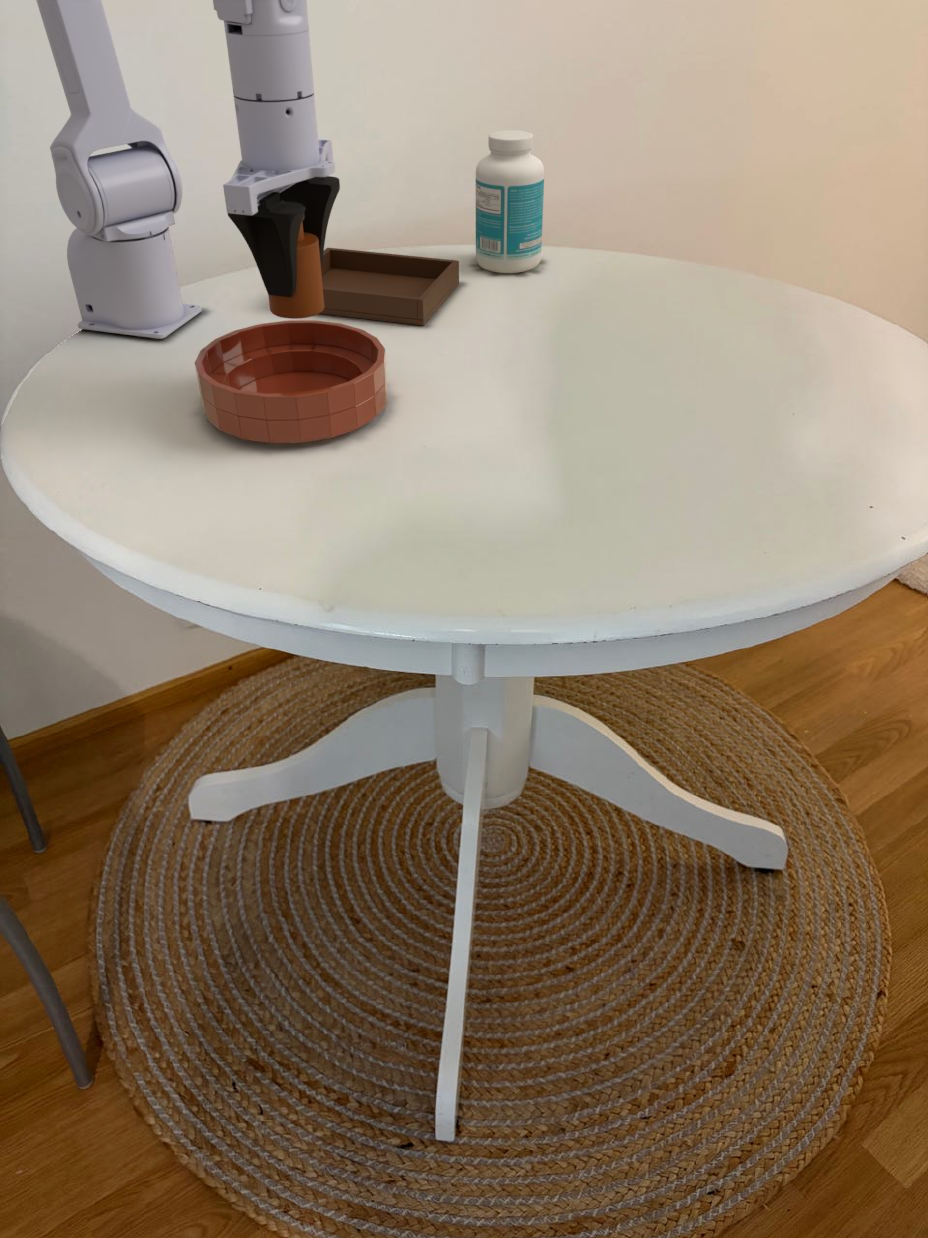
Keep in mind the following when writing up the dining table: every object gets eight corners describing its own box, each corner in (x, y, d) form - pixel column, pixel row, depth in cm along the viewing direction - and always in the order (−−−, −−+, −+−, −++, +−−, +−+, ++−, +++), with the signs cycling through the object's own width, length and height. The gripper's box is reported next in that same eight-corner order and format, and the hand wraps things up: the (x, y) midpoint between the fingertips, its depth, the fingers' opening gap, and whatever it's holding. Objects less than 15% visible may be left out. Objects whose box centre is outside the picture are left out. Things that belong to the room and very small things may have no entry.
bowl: (170, 434, 76) (159, 382, 74) (255, 360, 88) (248, 312, 85) (347, 461, 73) (342, 407, 70) (411, 380, 84) (410, 331, 82)
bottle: (260, 315, 77) (247, 211, 72) (284, 296, 80) (272, 195, 75) (311, 321, 76) (300, 216, 71) (332, 302, 79) (324, 200, 74)
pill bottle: (541, 255, 111) (548, 127, 103) (539, 276, 105) (546, 143, 97) (477, 252, 112) (479, 125, 103) (472, 274, 106) (472, 141, 98)
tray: (282, 309, 98) (279, 283, 96) (329, 270, 107) (327, 247, 105) (423, 325, 94) (422, 299, 93) (459, 284, 103) (459, 260, 102)
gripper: (281, 118, 62) (302, 322, 70) (363, 79, 73) (373, 260, 81) (184, 111, 63) (216, 311, 72) (279, 74, 74) (297, 252, 83)
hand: (294, 284), depth 77 cm, fingers closed on bottle, 4 cm apart
